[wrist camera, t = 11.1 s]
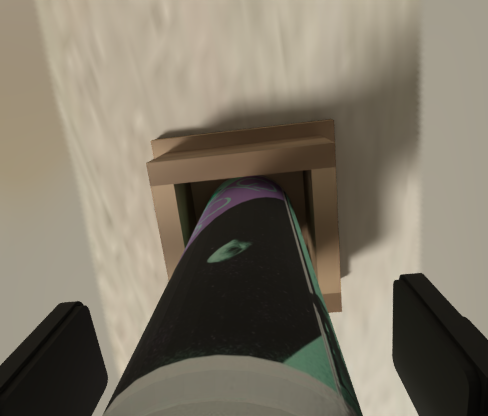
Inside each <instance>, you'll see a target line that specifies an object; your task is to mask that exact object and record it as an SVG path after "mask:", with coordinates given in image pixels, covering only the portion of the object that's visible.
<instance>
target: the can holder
mask: <svg viewBox="0 0 488 416" xmlns="http://www.w3.org/2000/svg"><path fill="white" fill-rule="evenodd" d="M151 145H152V150H153V156H154V159H153V160H151V161H150V162H148V163H146V165H147V170H148V176H149V181H150V186H151V191H152V196H153V202H154V207H155V212H156V217H157V222H158V228H159V233H160V238H161V243H162V248H163V254H164V259H165V264H166V269H167V274H168V280H170V278H171V276H172V274H173V272H174V270H175V268H176V266H177V264H178V262H179V260H180V258H181V256H182V254H183V252H184V250H185V248H186V246H187V244H188V242H189V240H190V238H191V236H192V234H193V232H194V230H195V228H196V226H197V224H198V222H199V220H200V218H201V216H202V214H203V212H204V210H205V208H206V206H207V204H208V202H209V200H210V198H211V196H212V194H213V193H214V191H215V190H216V189H217V188H218V187H219V186H220V185H221V184H222V183H223V182H224V181H226V180H227V179H229V178H236V177H245V176H255V175H264V176H266V177H268V178H271V179H272V180H274V181H275V182H277V183H278V184H279V185H280V186H281V187H282V188H283V189H284V190H285V192H286V193H287V195H288V197H289V198H290V201H291V203H292V206H293V209H294V212H295V215H296V218H297V221H298V224H299V227H300V230H301V233H302V236H303V239H304V242H305V245H306V248H307V251H308V254H309V257H310V260H311V263H312V266H313V269H314V272H315V275H316V278H317V281H318V284H319V287H320V290H321V293H322V296H323V299H324V302H325V304H326V307H327V310H328V313H330V312H342V303H341V280H340V256H339V232H338V208H337V184H336V160H335V136H334V120H331V119H329V120H320V121H311V122H303V123H294V124H285V125H276V126H268V127H259V128H250V129H241V130H233V131H224V132H215V133H206V134H198V135H189V136H180V137H171V138H163V139H155V140H152V141H151Z"/></svg>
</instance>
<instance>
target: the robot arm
mask: <svg viewBox="0 0 488 416" xmlns="http://www.w3.org/2000/svg"><path fill="white" fill-rule="evenodd" d="M392 356H393V363H394V366H395V369H396V371H397V373H398V375H399V377H400V379H401V381H402V383H403V385H404V387H405V389H406V391H407V393H408V395H409V397H410V399H411V401H412V403H413V405H414V407H415V409H416V411H417V413H418V415H419V416H488V340H487V338H485V336H484V335H483V334H482V333H481V332H480V331H479V330H478V329H477V328H476V327H475V326H474V325H473V324H472V323H471V321H470V320H468V319H467V318H466V317H463V316H462V315H461V314H460V313H459V312H458V311H457V310H456V309H455V308H454V307H453V306H452V305H451V304H450V303H449V301H447V299H446V298H445V297H444V296H443V295H442V294H441V293H440V292H439V291H438V290H437V288H436V287H435V286H434V285H433V284H432V283H431V282H430V281H429V280H428V279H427V278H426V277H425V275H424V274H422V273H415V274H403V275H400V278H399V280H395V281H394V283H393V349H392ZM107 380H108V375H107V371H106V368H105V365H104V361H103V357H102V354H101V350H100V347H99V343H98V340H97V336H96V332H95V329H94V325H93V322H92V318H91V315H90V311H89V309H88V307H87V306H84V305H83V304H82V303H81V302H79V301H77V302H65V303H60V304H59V305H57V306H56V307H55V309H54V310H53V311H52V312H51V313H50V314H49V315H48V316H47V317H46V318H45V319H44V320H43V321H42V322H41V323H40V324H39V325H38V326H37V328H36V329H35V330H34V331H33V332H32V333H31V334H30V335H29V336H28V337H27V338H26V339H25V340H24V341H23V342H22V343H21V344H20V345H19V346H18V347H17V349H16V350H15V351H14V352H13V353H12V354H11V355H10V356H9V357H8V358H7V359H6V360H5V361H4V362H3V363H2V364H1V365H0V416H92V414H93V412H94V410H95V408H96V406H97V404H98V402H99V400H100V398H101V396H102V394H103V393H104V390H105V388H106V386H107V382H108V381H107Z"/></svg>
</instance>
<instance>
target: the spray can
mask: <svg viewBox="0 0 488 416" xmlns="http://www.w3.org/2000/svg"><path fill="white" fill-rule="evenodd" d="M103 416H363V415H362V412H361V409H360V406H359V403H358V400H357V397H356V394H355V391H354V388H353V385H352V382H351V379H350V376H349V373H348V370H347V367H346V364H345V361H344V358H343V355H342V352H341V349H340V346H339V343H338V340H337V337H336V334H335V331H334V328H333V325H332V322H331V319H330V316H329V313H328V310H327V307H326V304H325V302H324V299H323V296H322V293H321V290H320V287H319V284H318V281H317V278H316V275H315V272H314V269H313V266H312V263H311V260H310V257H309V254H308V251H307V248H306V245H305V242H304V239H303V236H302V233H301V230H300V227H299V224H298V221H297V218H296V215H295V212H294V209H293V206H292V203H291V201H290V198H289V197H288V195H287V193H286V192H285V190H284V189H283V188H282V187H281V186H280V185H279V184H278V183H277V182H275V181H274V180H272V179H271V178H268V177H266V176H264V175H255V176H245V177H236V178H229V179H227V180H226V181H224V182H223V183H222V184H221V185H220V186H219V187H218V188H217V189H216V190H215V191H214V193H213V194H212V196H211V198H210V200H209V202H208V204H207V206H206V208H205V210H204V212H203V214H202V216H201V218H200V220H199V222H198V224H197V226H196V228H195V230H194V232H193V234H192V236H191V238H190V240H189V242H188V244H187V246H186V248H185V250H184V252H183V254H182V256H181V258H180V260H179V262H178V264H177V266H176V268H175V270H174V272H173V274H172V276H171V278H170V280H169V282H168V284H167V286H166V288H165V290H164V292H163V294H162V296H161V298H160V300H159V302H158V305H157V307H156V309H155V311H154V313H153V315H152V317H151V319H150V321H149V323H148V325H147V327H146V329H145V331H144V333H143V335H142V337H141V339H140V341H139V343H138V345H137V347H136V349H135V351H134V353H133V355H132V357H131V359H130V361H129V363H128V365H127V367H126V369H125V371H124V373H123V375H122V377H121V379H120V381H119V383H118V385H117V387H116V390H115V391H114V394H113V395H112V398H111V400H110V401H109V404H108V406H107V407H106V410H105V412H104V414H103Z"/></svg>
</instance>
